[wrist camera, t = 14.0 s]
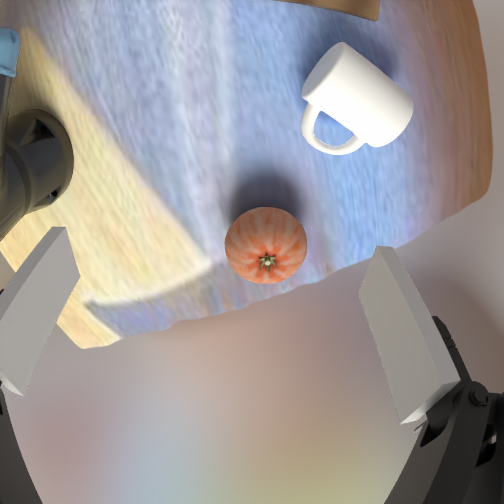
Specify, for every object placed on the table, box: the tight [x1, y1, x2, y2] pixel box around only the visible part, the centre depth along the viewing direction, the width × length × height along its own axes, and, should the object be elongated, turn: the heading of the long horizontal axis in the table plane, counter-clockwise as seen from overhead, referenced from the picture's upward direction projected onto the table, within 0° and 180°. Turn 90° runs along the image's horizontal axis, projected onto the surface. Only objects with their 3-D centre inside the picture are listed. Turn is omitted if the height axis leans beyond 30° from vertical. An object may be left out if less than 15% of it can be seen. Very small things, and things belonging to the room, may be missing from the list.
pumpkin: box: [225, 207, 307, 284], centre depth 39 cm, size 11×11×8 cm
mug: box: [301, 42, 413, 155], centre depth 29 cm, size 12×10×8 cm
